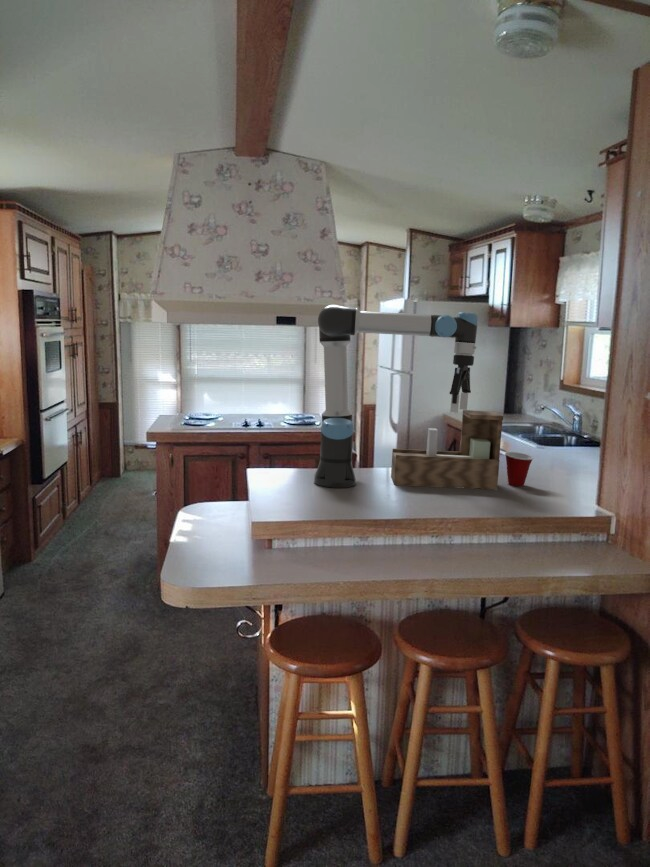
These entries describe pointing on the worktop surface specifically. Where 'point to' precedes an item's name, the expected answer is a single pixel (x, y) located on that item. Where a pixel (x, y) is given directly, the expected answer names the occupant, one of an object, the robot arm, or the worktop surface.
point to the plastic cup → (517, 467)
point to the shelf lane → (450, 470)
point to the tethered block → (477, 450)
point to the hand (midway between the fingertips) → (458, 411)
